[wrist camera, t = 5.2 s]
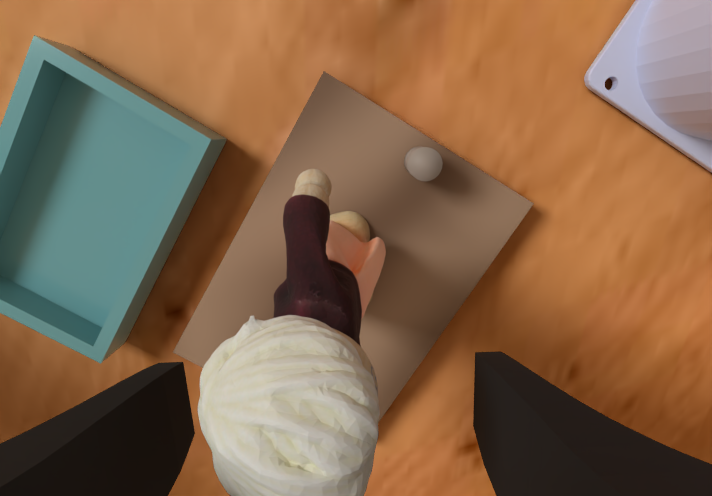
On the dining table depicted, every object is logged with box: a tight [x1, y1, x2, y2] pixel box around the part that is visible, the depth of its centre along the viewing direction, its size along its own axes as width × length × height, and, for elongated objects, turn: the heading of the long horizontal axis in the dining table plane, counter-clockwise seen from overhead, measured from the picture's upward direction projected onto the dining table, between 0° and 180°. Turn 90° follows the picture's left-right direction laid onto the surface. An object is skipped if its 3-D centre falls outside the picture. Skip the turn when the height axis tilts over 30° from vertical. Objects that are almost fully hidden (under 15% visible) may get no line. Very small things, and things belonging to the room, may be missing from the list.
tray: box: [0, 35, 227, 363], centre depth 18 cm, size 7×11×2 cm, turn 149°
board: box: [173, 72, 534, 422], centre depth 18 cm, size 10×14×3 cm
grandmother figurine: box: [198, 169, 386, 496], centre depth 12 cm, size 8×4×13 cm, turn 13°
